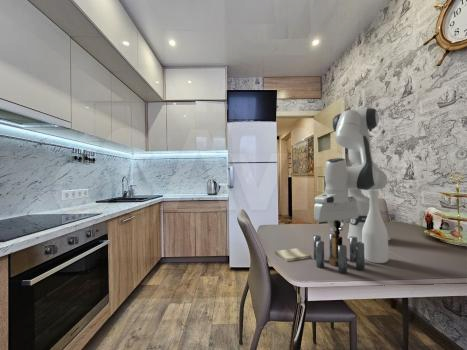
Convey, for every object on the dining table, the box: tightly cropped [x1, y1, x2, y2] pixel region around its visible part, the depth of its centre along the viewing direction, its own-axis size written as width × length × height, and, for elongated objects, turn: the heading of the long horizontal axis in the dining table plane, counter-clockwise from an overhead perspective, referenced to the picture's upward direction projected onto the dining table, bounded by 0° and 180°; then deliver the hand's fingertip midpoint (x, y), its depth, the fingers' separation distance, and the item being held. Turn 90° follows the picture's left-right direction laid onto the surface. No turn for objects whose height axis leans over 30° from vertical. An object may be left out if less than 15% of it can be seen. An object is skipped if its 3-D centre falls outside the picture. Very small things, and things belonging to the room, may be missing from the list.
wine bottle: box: [361, 189, 389, 264], centre depth 101 cm, size 10×10×30 cm
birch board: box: [274, 247, 312, 262], centre depth 108 cm, size 12×11×1 cm
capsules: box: [313, 233, 366, 275], centre depth 97 cm, size 20×18×10 cm
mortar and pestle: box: [328, 220, 343, 267], centre depth 97 cm, size 7×6×18 cm
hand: (337, 230), depth 97 cm, fingers closed on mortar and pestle, 2 cm apart
